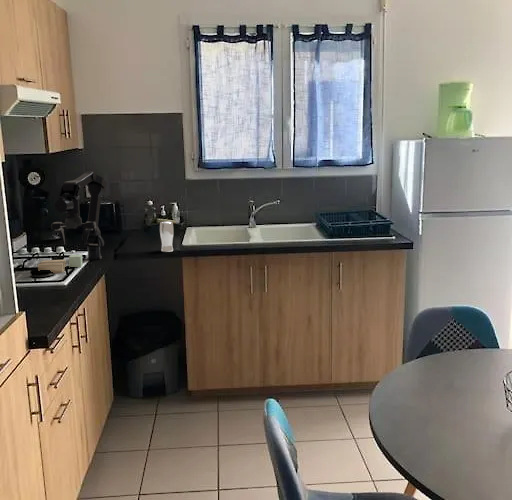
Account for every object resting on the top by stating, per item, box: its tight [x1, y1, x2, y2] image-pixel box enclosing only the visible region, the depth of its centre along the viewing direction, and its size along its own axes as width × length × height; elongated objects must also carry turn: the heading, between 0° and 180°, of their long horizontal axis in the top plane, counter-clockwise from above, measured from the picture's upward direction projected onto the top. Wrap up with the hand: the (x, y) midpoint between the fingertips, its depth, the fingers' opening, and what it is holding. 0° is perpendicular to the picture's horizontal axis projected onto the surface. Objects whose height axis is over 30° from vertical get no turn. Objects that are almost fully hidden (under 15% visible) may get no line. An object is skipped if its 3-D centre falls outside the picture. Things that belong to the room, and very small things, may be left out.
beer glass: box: [159, 221, 174, 253], centre depth 298 cm, size 7×7×15 cm
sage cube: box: [68, 254, 83, 268], centre depth 262 cm, size 5×5×5 cm
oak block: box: [37, 259, 67, 274], centre depth 254 cm, size 10×10×4 cm
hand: (75, 244), depth 261 cm, fingers open, 9 cm apart
